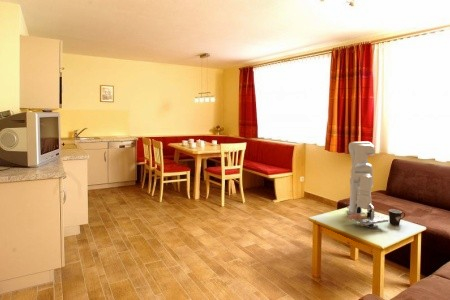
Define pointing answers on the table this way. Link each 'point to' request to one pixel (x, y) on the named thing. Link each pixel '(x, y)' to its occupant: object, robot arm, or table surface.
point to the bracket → (355, 216)
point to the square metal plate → (371, 220)
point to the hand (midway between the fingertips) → (363, 215)
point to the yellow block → (363, 218)
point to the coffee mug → (395, 217)
